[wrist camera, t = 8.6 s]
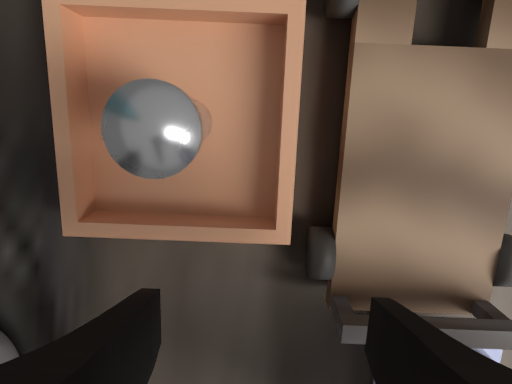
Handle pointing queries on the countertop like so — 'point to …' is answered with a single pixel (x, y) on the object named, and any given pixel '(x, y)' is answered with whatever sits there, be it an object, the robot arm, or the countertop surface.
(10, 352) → the pump dispenser
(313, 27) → the countertop surface
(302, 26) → the tray
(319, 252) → the trolley
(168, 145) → the pin
